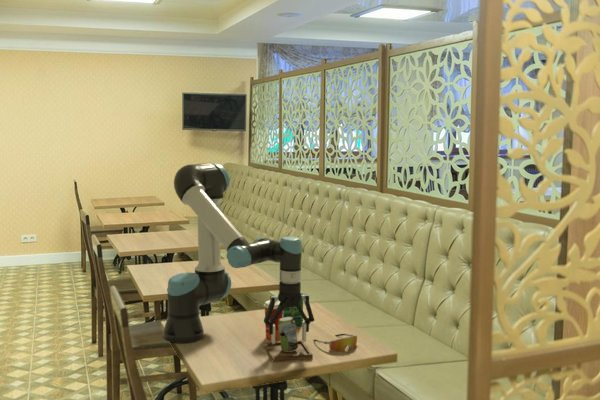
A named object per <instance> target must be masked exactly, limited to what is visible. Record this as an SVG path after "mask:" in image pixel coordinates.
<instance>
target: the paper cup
mask: <svg viewBox="0 0 600 400" xmlns="http://www.w3.org/2000/svg"><path fill="white" fill-rule="evenodd" d="M279 303H280V301H279V300H277V302H276V303H275V305H274V308H273V311H272V314H271V317H272V316H273V314H274V312H275V311H276V309H277V308H278V305H279ZM269 304H270V299H269V300H268V299H267V300H266V301H265V302H264V304H263V308H264V316H265V315H266V312H267V309H268V306H269ZM271 317H270V319H271ZM280 318H283V310H282V312H281V313H280V315H279V316H278V318H277V320H276V321H275V323H274V325H275V342H277V341H279V340H280V336H279V328H278V322H279V319H280ZM264 324H265V323H264ZM265 338H266V340H267V341H271V334H270V333H269V325H268V324H265Z"/></svg>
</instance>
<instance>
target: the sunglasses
mask: <svg viewBox="0 0 600 400" xmlns="http://www.w3.org/2000/svg"><path fill="white" fill-rule="evenodd" d="M341 336H342V338H337V339H335V340H334V339H333V340H330V341H327V340H326V341H324V340H319V339H313V342H317V343H322V344H324V345H329V346H328V347H329V351H330V352H331V351H332V352H342V351H343V352H344V351H346V349H347V348H348V349H349V350H351V349H354V348H355V347H356V346H357V342H358V336H357V334H349V333H339V334H338V333H337V334H335V335H334V337H341ZM343 336H346V337H343Z"/></svg>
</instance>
